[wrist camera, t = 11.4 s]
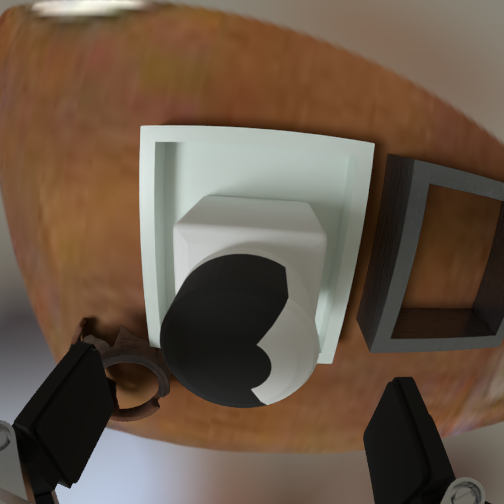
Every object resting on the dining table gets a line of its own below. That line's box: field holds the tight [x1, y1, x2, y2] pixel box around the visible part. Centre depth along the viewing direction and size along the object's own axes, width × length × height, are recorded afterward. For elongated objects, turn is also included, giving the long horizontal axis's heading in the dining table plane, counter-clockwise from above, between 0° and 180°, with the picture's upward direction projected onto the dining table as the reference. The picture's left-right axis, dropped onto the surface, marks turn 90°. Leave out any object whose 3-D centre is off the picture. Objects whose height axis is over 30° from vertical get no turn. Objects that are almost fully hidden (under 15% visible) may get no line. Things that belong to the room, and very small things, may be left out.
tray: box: [140, 126, 375, 364], centre depth 21 cm, size 14×16×3 cm
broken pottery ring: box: [69, 318, 172, 422], centre depth 25 cm, size 12×10×8 cm
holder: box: [356, 154, 504, 353], centre depth 20 cm, size 13×13×4 cm
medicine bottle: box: [160, 196, 327, 408], centre depth 16 cm, size 7×7×12 cm
